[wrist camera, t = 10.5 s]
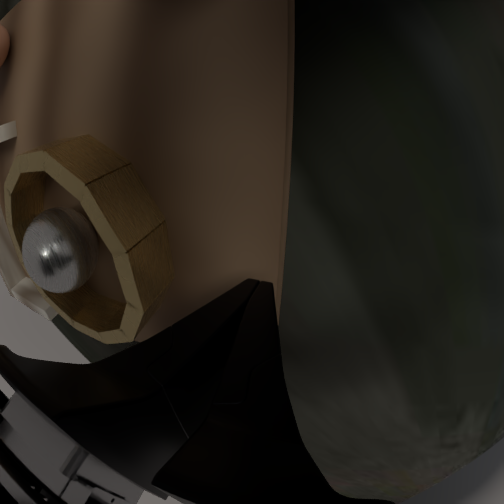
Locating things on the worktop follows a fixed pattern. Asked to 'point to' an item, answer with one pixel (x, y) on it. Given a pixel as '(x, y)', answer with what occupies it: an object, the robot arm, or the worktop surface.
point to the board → (162, 129)
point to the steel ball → (60, 250)
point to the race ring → (107, 225)
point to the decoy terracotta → (4, 44)
